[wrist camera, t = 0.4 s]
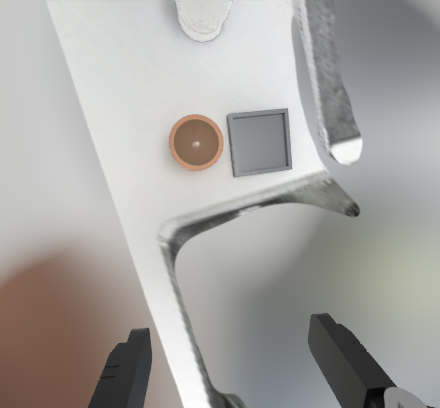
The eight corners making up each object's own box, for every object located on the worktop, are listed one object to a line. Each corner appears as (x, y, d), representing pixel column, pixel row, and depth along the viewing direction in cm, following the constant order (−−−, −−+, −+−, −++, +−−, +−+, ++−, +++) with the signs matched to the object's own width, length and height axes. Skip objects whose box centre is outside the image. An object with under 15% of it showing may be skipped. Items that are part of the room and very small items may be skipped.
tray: (226, 116, 36) (228, 113, 34) (283, 111, 37) (287, 108, 35) (233, 176, 37) (236, 176, 36) (287, 169, 38) (292, 169, 37)
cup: (170, 134, 35) (164, 117, 24) (208, 130, 35) (219, 111, 25) (176, 172, 36) (173, 173, 25) (213, 168, 36) (226, 166, 26)
